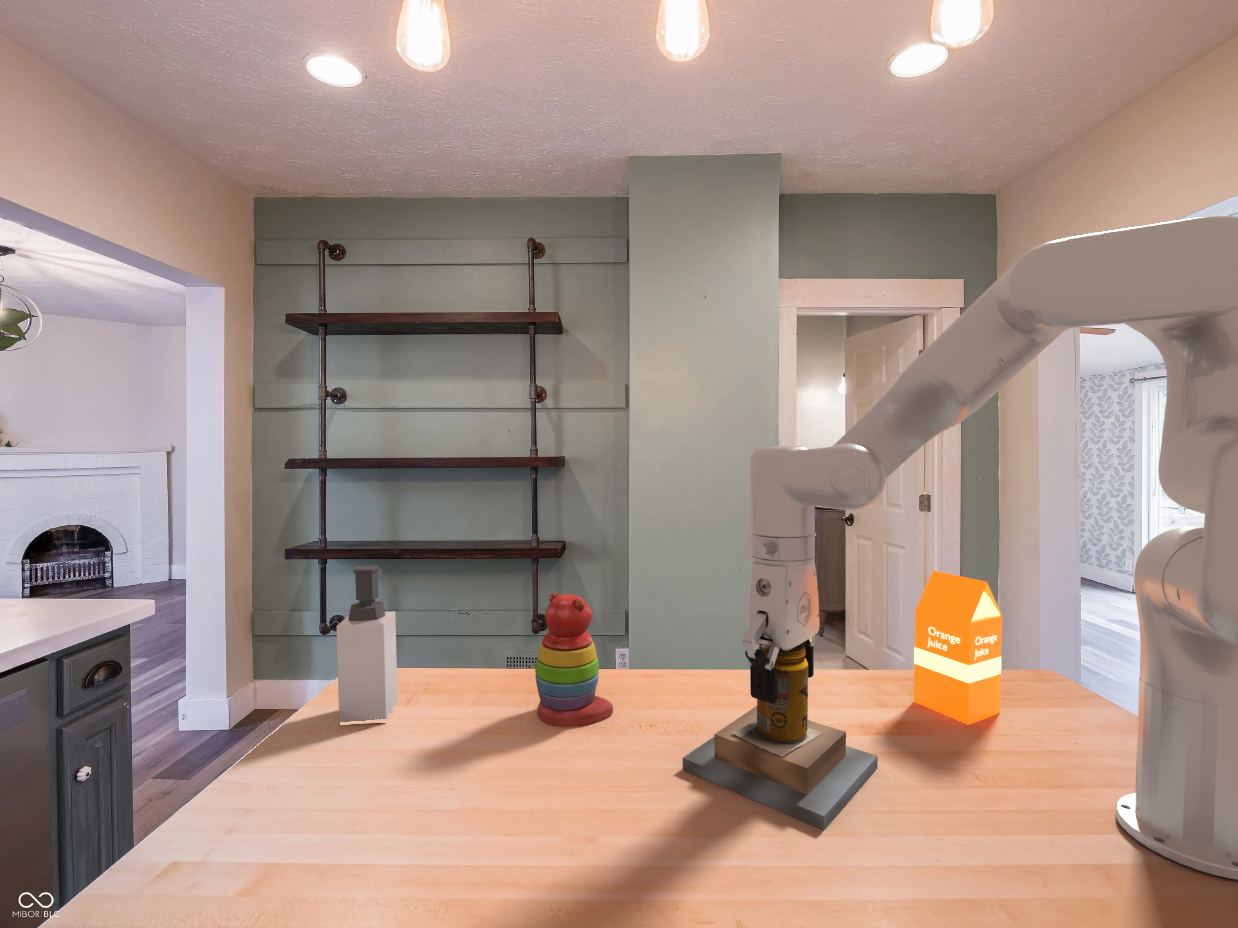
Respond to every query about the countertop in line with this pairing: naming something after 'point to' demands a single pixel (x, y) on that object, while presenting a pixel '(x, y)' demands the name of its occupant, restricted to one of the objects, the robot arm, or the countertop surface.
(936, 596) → the orange juice
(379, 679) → the soap dispenser
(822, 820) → the plinth
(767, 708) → the condiment
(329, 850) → the countertop surface
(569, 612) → the stacking bear
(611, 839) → the countertop surface
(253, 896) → the countertop surface
